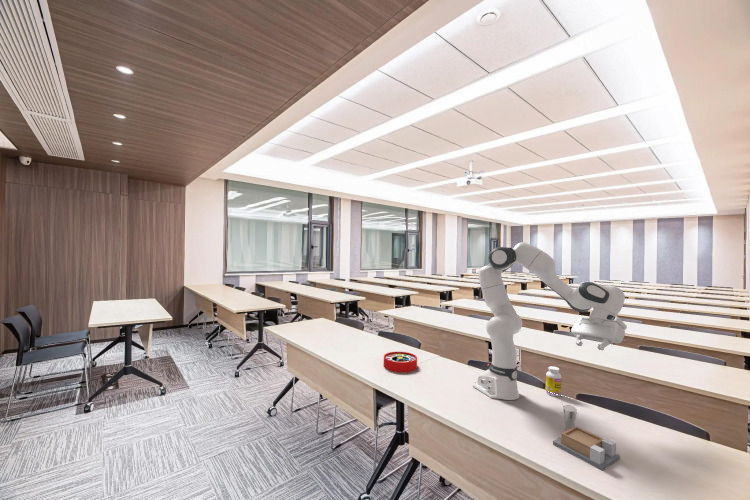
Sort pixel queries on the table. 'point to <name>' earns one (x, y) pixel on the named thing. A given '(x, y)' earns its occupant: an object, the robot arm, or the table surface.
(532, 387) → the table surface
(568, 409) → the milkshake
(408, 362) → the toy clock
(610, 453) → the baseplate
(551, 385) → the supplement bottle
